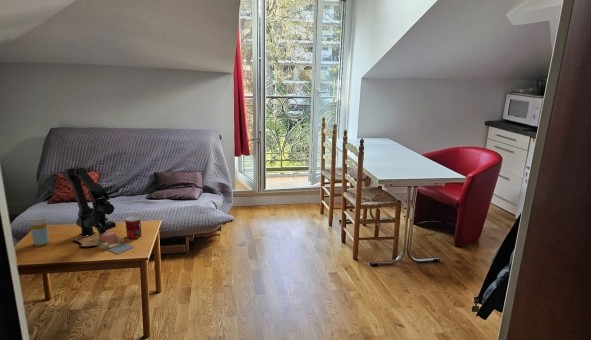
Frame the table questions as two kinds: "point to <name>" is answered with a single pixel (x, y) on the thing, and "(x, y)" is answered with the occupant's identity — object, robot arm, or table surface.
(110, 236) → the block
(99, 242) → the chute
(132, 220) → the canned food
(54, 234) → the table surface
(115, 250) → the mat
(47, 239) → the bottle
